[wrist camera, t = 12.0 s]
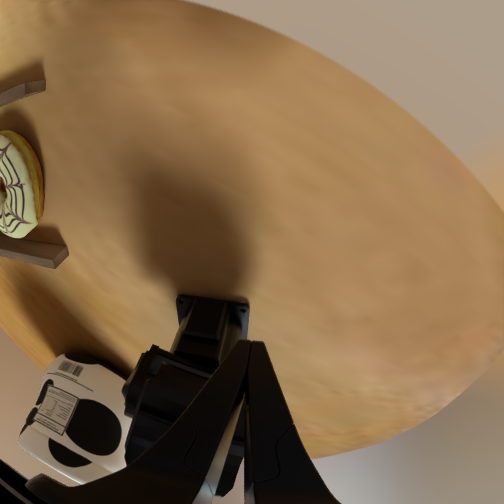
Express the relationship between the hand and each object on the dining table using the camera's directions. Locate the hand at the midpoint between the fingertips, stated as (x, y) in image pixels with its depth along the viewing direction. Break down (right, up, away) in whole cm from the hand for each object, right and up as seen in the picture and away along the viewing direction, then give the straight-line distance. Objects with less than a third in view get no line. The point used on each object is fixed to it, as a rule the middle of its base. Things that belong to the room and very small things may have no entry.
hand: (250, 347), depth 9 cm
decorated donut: (-23, +11, +11) cm, 28 cm away
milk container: (-23, -16, +27) cm, 39 cm away
